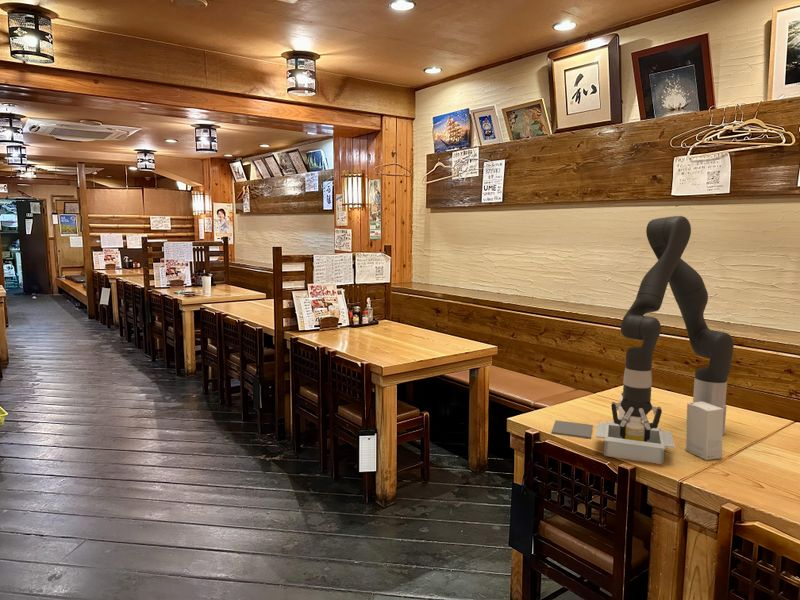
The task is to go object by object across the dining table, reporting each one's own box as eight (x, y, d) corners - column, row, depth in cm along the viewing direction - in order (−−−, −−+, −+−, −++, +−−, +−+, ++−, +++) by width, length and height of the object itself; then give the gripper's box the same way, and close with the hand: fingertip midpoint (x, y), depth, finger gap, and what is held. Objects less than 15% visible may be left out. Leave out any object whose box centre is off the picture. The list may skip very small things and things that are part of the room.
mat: (592, 426, 185) (592, 424, 185) (590, 439, 174) (590, 437, 174) (555, 421, 190) (555, 420, 190) (551, 433, 179) (551, 431, 178)
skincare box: (722, 459, 159) (726, 409, 158) (704, 461, 158) (708, 410, 156) (700, 448, 168) (704, 400, 166) (683, 449, 166) (686, 401, 164)
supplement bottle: (628, 442, 168) (630, 411, 167) (646, 447, 164) (648, 415, 163) (620, 447, 164) (622, 415, 163) (639, 452, 160) (641, 419, 159)
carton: (668, 446, 169) (670, 429, 168) (673, 469, 152) (675, 449, 152) (596, 436, 176) (597, 420, 175) (594, 457, 160) (595, 439, 159)
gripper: (663, 382, 163) (660, 438, 165) (611, 377, 168) (608, 431, 170) (665, 389, 156) (662, 447, 158) (610, 384, 161) (608, 440, 163)
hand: (634, 439), depth 164 cm, fingers closed on supplement bottle, 5 cm apart
